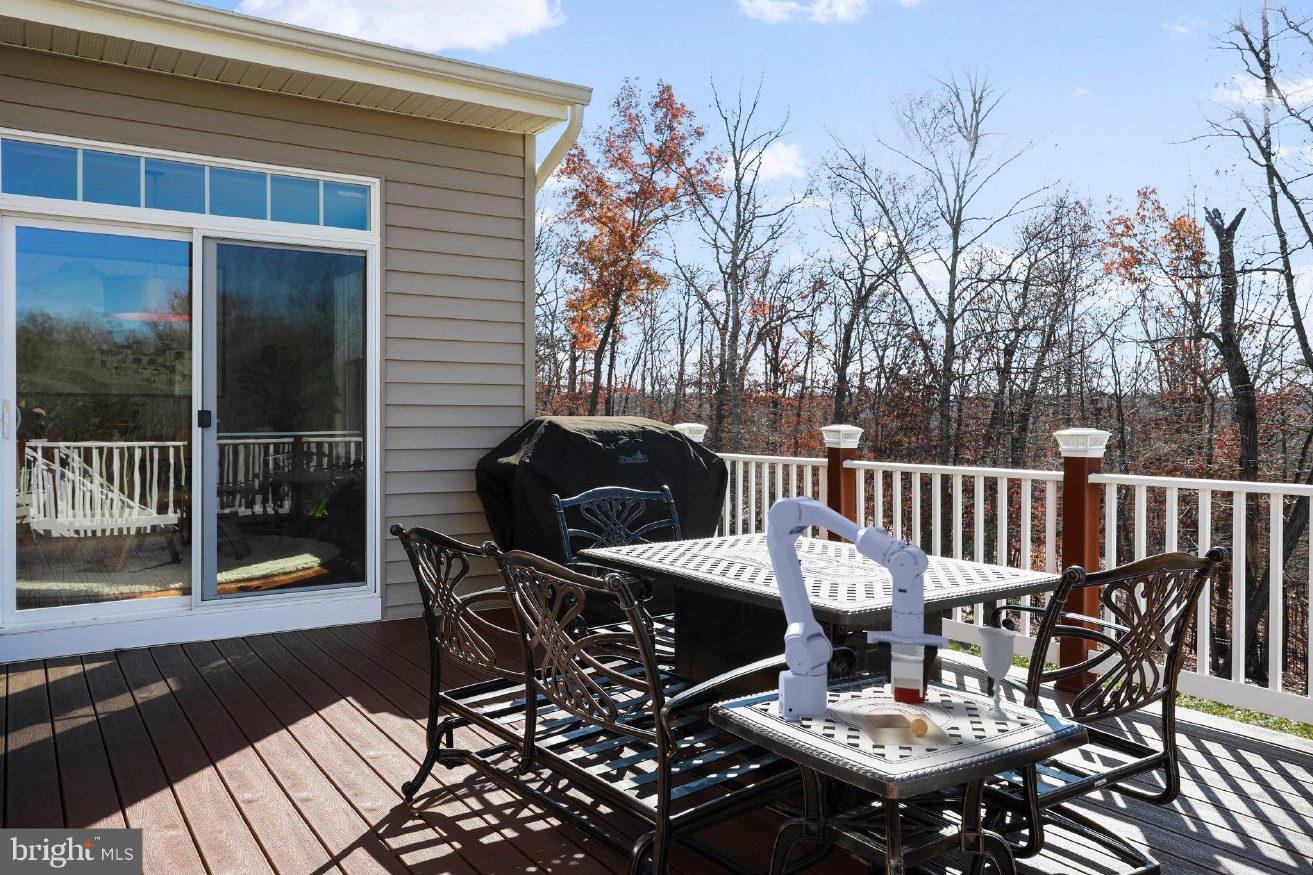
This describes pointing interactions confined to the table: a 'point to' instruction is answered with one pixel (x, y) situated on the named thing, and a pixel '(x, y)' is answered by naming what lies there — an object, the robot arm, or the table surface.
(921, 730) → the orange marble
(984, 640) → the chalice
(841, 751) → the table surface
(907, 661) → the white tabletop archway
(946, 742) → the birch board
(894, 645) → the plastic cup
